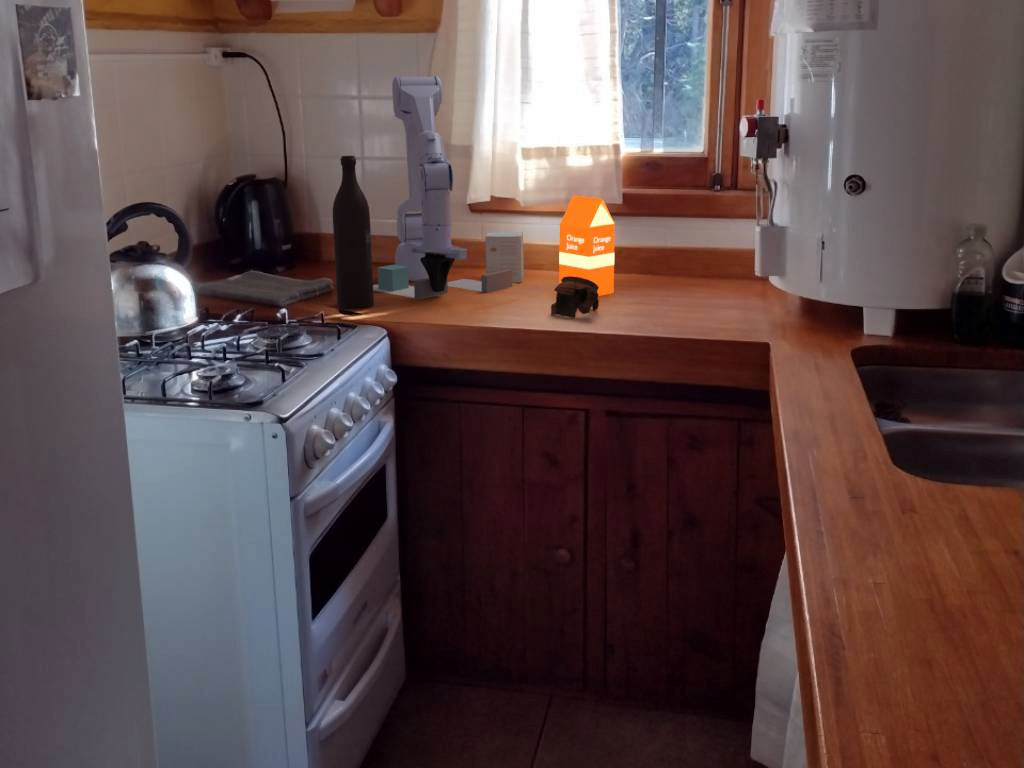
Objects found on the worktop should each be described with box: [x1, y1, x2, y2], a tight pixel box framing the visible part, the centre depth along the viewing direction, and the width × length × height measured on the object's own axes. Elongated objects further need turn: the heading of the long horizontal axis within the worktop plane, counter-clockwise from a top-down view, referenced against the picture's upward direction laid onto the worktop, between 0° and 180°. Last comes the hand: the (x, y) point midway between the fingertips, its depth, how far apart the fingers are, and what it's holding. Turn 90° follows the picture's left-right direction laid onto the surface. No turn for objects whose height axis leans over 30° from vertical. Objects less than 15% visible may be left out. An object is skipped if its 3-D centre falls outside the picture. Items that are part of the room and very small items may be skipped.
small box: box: [485, 231, 525, 284], centre depth 236 cm, size 8×6×10 cm
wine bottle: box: [332, 155, 375, 316], centre depth 204 cm, size 7×7×30 cm
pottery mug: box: [550, 276, 600, 319], centre depth 204 cm, size 12×10×8 cm
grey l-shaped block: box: [447, 269, 514, 294], centre depth 225 cm, size 14×8×4 cm, turn 49°
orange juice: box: [558, 195, 616, 297], centre depth 221 cm, size 8×9×20 cm
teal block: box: [377, 264, 410, 291], centre depth 223 cm, size 4×4×4 cm
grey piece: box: [373, 278, 449, 300], centre depth 221 cm, size 18×8×4 cm, turn 49°
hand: (438, 291), depth 215 cm, fingers closed
